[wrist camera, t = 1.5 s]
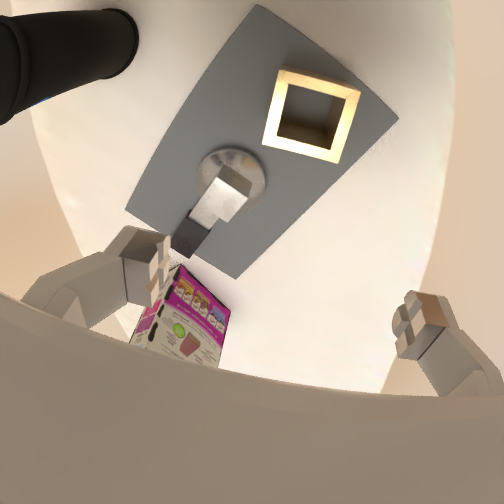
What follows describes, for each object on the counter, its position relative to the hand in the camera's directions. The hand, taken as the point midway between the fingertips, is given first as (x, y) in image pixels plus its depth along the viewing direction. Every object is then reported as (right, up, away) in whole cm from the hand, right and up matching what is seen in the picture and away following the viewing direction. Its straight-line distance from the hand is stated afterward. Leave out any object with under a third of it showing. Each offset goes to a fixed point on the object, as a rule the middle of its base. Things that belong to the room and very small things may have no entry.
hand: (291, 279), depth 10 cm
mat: (-2, +10, +22) cm, 24 cm away
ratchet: (-6, +6, +25) cm, 26 cm away
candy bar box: (-9, -5, +35) cm, 37 cm away
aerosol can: (-16, +22, +14) cm, 31 cm away
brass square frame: (+4, +15, +16) cm, 22 cm away
